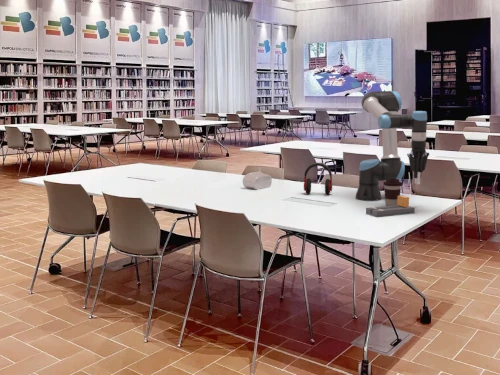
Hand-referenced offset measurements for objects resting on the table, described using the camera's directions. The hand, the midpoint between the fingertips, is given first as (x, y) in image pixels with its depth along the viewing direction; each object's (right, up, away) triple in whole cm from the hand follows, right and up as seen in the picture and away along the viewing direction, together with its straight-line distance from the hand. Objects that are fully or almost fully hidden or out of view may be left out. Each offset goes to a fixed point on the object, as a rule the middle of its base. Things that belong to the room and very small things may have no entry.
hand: (417, 183), depth 327 cm
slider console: (-15, -16, -3) cm, 22 cm away
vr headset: (-85, -2, +80) cm, 117 cm away
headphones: (-48, -6, +54) cm, 72 cm away
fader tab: (-8, -14, -1) cm, 16 cm away
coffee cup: (-10, -12, +17) cm, 23 cm away
